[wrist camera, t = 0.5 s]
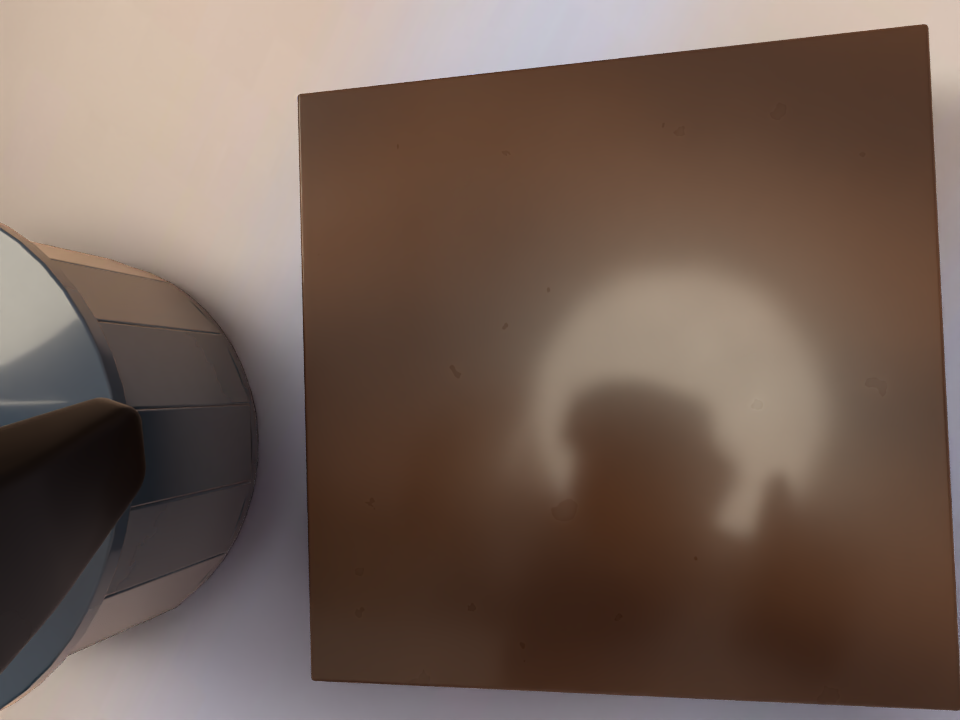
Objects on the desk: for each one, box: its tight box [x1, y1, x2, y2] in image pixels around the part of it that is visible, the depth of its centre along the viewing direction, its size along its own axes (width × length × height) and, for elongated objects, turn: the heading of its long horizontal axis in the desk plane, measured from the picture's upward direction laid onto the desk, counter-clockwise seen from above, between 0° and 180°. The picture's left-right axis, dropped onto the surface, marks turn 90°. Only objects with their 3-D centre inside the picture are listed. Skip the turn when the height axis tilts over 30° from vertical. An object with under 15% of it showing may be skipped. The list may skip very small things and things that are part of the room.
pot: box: [30, 241, 258, 656], centre depth 22 cm, size 11×11×6 cm
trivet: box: [298, 24, 960, 711], centre depth 21 cm, size 14×14×3 cm
